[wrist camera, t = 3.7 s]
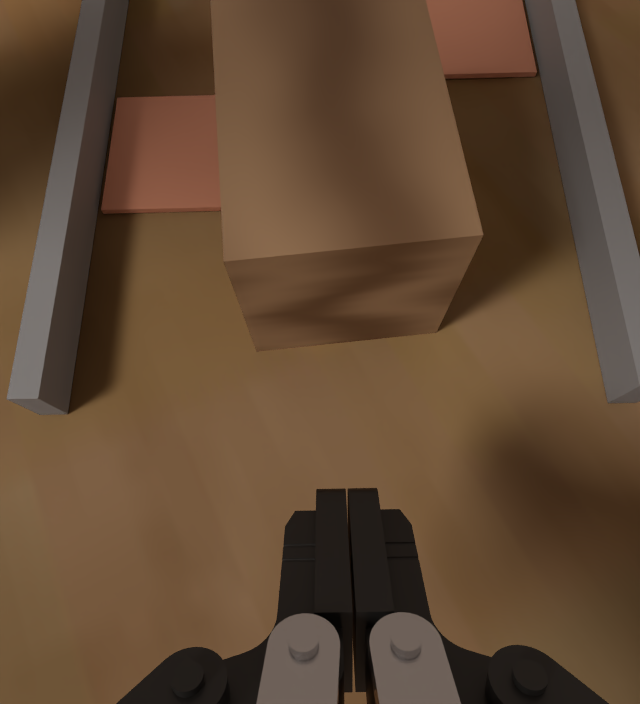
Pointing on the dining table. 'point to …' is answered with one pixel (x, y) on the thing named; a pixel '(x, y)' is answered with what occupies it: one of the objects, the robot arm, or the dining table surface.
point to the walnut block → (338, 170)
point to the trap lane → (204, 185)
